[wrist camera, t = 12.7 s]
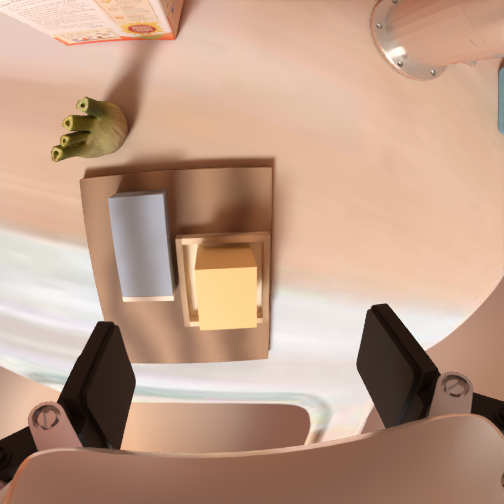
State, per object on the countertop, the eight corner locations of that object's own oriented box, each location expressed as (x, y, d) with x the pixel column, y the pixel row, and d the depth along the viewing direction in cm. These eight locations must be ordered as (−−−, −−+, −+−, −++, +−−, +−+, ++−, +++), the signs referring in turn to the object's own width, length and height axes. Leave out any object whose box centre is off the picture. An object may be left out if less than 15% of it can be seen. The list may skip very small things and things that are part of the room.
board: (270, 166, 35) (277, 170, 31) (266, 353, 44) (271, 372, 40) (83, 178, 33) (68, 183, 29) (118, 357, 42) (112, 376, 38)
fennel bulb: (123, 100, 30) (82, 87, 19) (142, 135, 32) (108, 137, 21) (82, 129, 31) (30, 130, 20) (101, 163, 33) (55, 178, 21)
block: (249, 244, 37) (256, 266, 31) (249, 297, 39) (256, 327, 33) (197, 246, 36) (194, 269, 30) (201, 300, 39) (200, 330, 33)
